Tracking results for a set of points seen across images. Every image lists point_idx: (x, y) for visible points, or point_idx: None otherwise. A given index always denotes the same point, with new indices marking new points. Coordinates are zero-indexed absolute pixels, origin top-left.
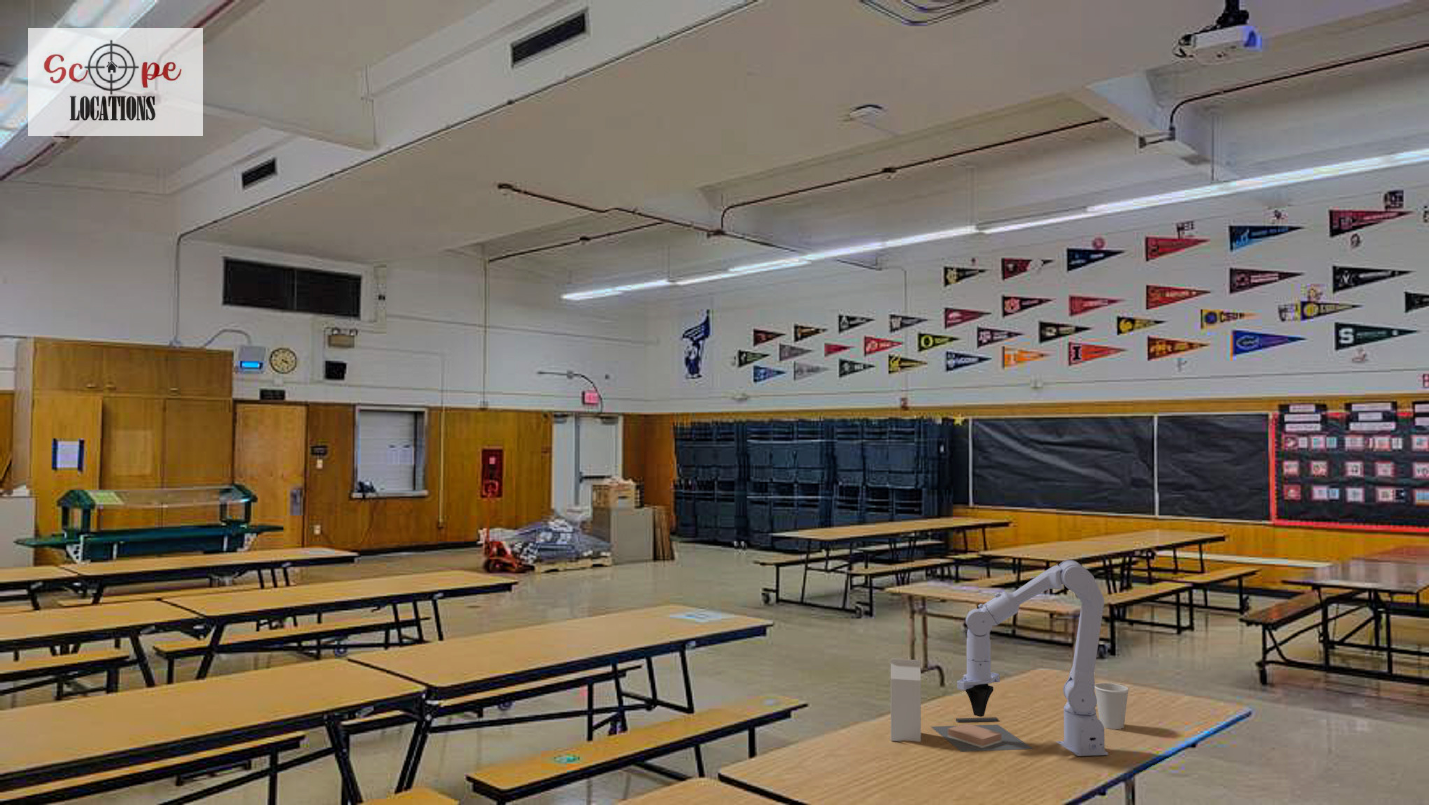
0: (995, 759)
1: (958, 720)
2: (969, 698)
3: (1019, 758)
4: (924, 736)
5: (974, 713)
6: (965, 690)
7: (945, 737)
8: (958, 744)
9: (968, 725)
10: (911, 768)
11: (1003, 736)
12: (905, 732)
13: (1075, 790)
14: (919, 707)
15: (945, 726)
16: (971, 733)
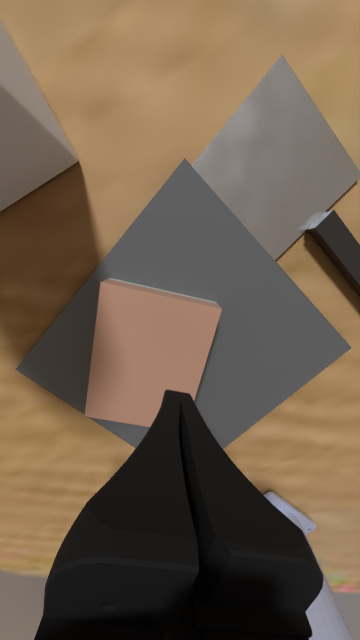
0: (57, 438)
1: (314, 229)
2: (139, 446)
3: (110, 469)
4: (77, 189)
5: (163, 398)
6: (94, 498)
7: (98, 274)
8: (65, 338)
9: (199, 325)
10: None
11: (236, 401)
12: None
13: (23, 571)
14: None
15: (225, 211)
16: (114, 370)
